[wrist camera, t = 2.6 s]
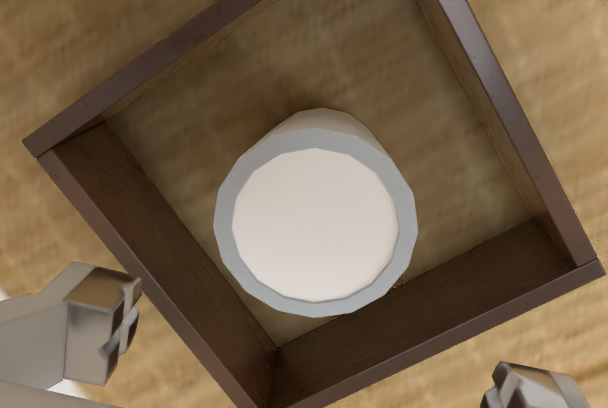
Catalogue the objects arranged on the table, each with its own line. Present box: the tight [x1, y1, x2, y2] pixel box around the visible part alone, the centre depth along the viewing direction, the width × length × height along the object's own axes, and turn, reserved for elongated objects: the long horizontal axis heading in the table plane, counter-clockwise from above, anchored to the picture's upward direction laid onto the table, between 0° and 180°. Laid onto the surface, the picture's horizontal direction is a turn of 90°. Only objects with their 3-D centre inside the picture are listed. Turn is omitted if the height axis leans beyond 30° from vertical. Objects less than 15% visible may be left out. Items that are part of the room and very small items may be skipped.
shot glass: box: [213, 107, 419, 318], centre depth 21 cm, size 7×7×7 cm
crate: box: [22, 0, 606, 408], centre depth 22 cm, size 16×16×5 cm
